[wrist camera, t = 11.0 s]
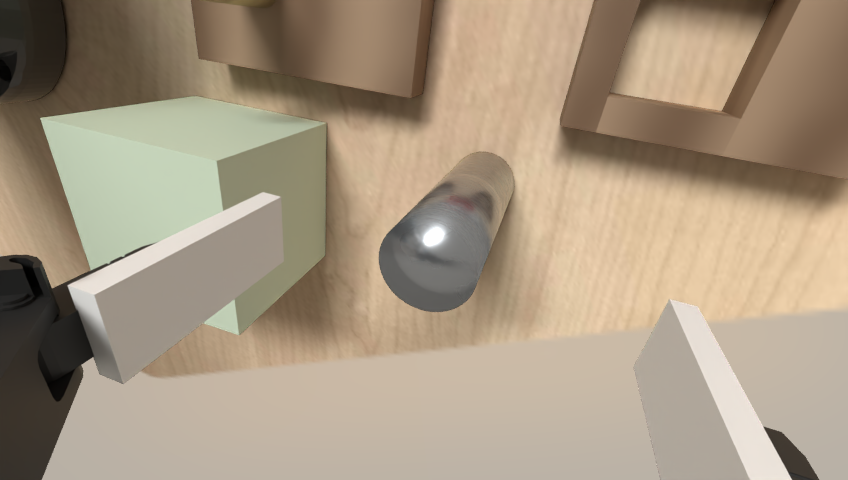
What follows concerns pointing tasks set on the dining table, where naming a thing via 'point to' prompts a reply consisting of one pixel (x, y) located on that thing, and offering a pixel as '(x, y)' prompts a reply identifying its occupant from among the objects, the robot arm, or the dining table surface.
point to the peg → (448, 235)
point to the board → (321, 40)
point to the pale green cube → (192, 181)
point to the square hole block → (749, 100)
